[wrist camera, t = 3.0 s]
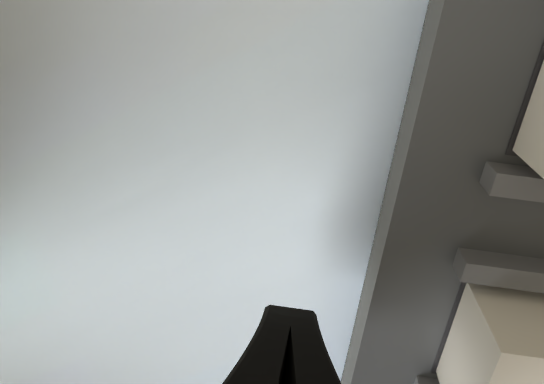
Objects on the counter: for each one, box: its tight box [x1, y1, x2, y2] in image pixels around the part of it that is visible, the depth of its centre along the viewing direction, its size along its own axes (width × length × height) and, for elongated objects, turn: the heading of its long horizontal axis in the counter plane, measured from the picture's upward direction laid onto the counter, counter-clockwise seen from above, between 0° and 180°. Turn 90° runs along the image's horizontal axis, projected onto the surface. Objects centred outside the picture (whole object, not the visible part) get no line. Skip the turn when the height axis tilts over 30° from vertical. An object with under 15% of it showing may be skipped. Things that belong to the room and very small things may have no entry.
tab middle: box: [436, 283, 544, 384], centre depth 13 cm, size 3×4×3 cm
